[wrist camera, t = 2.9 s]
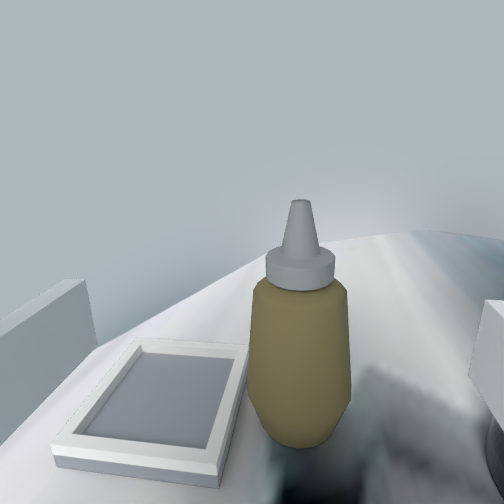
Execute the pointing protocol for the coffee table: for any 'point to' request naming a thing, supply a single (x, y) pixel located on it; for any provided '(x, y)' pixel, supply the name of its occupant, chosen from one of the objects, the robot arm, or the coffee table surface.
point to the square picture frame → (159, 413)
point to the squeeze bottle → (299, 338)
